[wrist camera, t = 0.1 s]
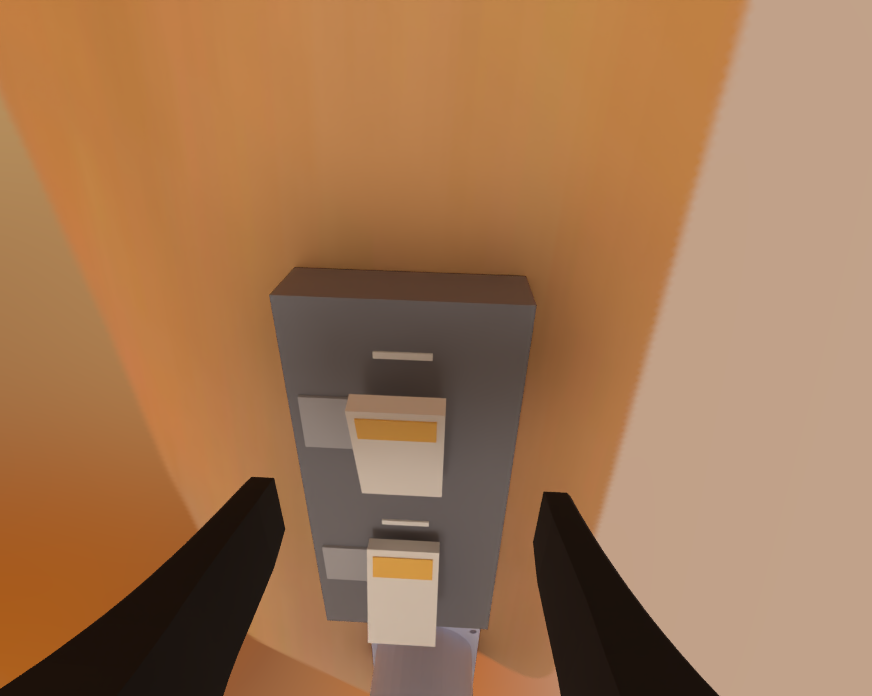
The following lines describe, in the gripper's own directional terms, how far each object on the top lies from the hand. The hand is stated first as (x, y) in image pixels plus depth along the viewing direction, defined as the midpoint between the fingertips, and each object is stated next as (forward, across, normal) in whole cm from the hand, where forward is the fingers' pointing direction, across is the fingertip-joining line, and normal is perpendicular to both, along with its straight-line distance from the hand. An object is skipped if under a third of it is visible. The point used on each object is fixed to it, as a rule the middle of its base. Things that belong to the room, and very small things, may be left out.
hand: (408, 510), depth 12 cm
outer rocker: (+5, +1, +3) cm, 6 cm away
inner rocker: (+6, +1, +13) cm, 14 cm away
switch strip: (+10, +1, +8) cm, 13 cm away
